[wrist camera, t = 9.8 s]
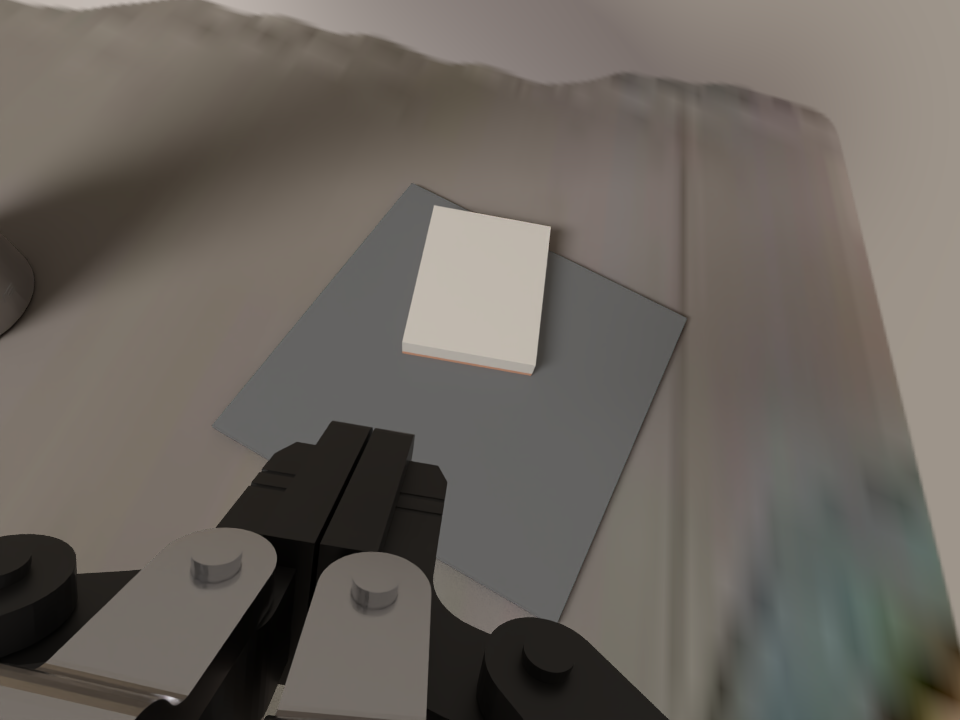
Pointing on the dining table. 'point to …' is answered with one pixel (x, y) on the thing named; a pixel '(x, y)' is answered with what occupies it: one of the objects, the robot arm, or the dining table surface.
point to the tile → (479, 291)
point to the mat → (475, 405)
